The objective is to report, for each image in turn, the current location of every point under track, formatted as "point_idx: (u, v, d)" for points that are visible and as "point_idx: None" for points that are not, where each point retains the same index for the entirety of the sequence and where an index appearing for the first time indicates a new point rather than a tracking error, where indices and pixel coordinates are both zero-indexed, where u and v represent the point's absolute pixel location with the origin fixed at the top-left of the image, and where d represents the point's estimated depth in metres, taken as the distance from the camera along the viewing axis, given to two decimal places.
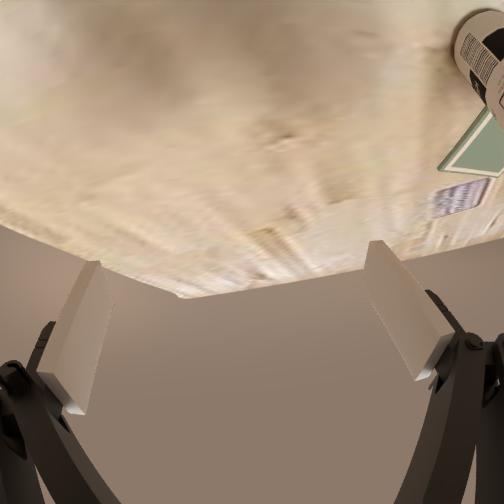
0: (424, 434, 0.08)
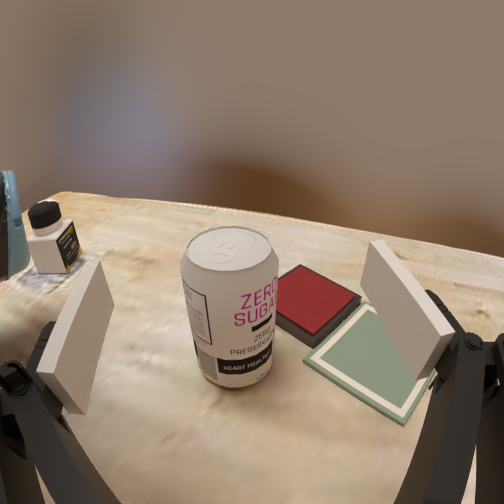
0: (424, 434, 0.08)
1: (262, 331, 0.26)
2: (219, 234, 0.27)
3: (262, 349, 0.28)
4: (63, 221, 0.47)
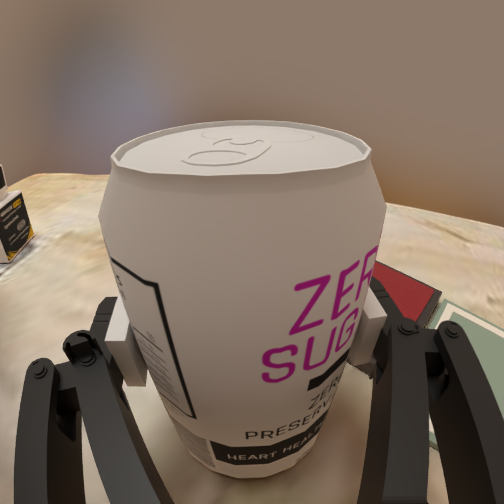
0: (372, 428, 0.08)
1: (330, 383, 0.09)
2: (215, 131, 0.10)
3: (319, 416, 0.11)
4: (9, 193, 0.30)
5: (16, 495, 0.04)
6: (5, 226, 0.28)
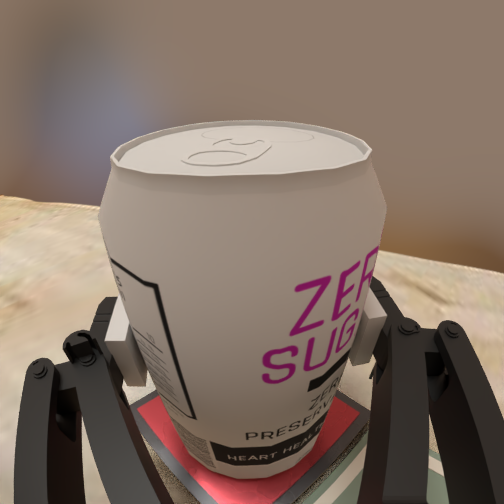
0: (372, 428, 0.08)
1: (330, 384, 0.09)
2: (215, 131, 0.10)
3: (319, 417, 0.10)
4: None
5: (16, 495, 0.04)
6: None
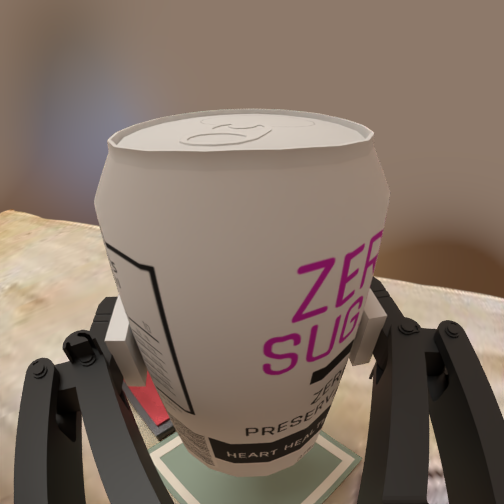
0: (372, 428, 0.08)
1: (333, 377, 0.09)
2: (215, 118, 0.10)
3: (321, 412, 0.10)
4: None
5: (16, 495, 0.04)
6: None
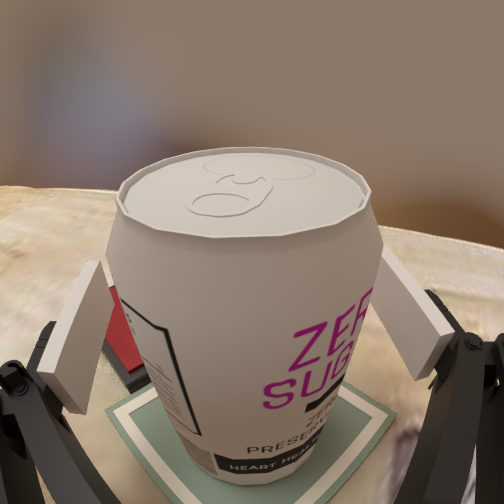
0: (424, 434, 0.08)
1: (326, 403, 0.10)
2: (217, 161, 0.10)
3: (316, 430, 0.11)
4: None
5: None
6: None
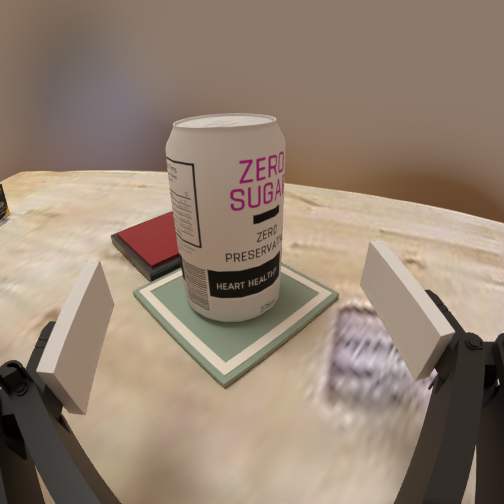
0: (424, 434, 0.08)
1: (267, 228, 0.21)
2: (214, 118, 0.21)
3: (267, 260, 0.22)
4: None
5: None
6: None
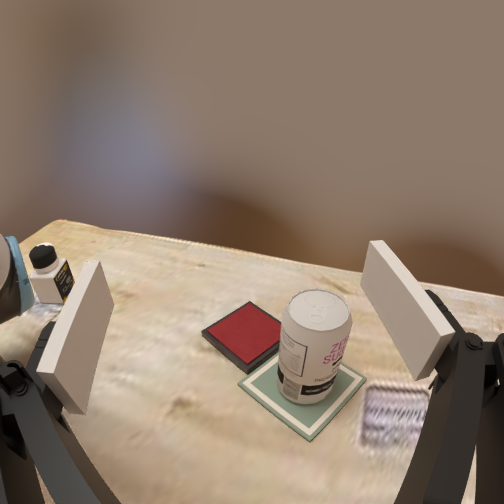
0: (424, 434, 0.08)
1: (337, 364, 0.35)
2: (307, 297, 0.35)
3: (334, 376, 0.36)
4: (59, 260, 0.57)
5: None
6: (60, 283, 0.55)
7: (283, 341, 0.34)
